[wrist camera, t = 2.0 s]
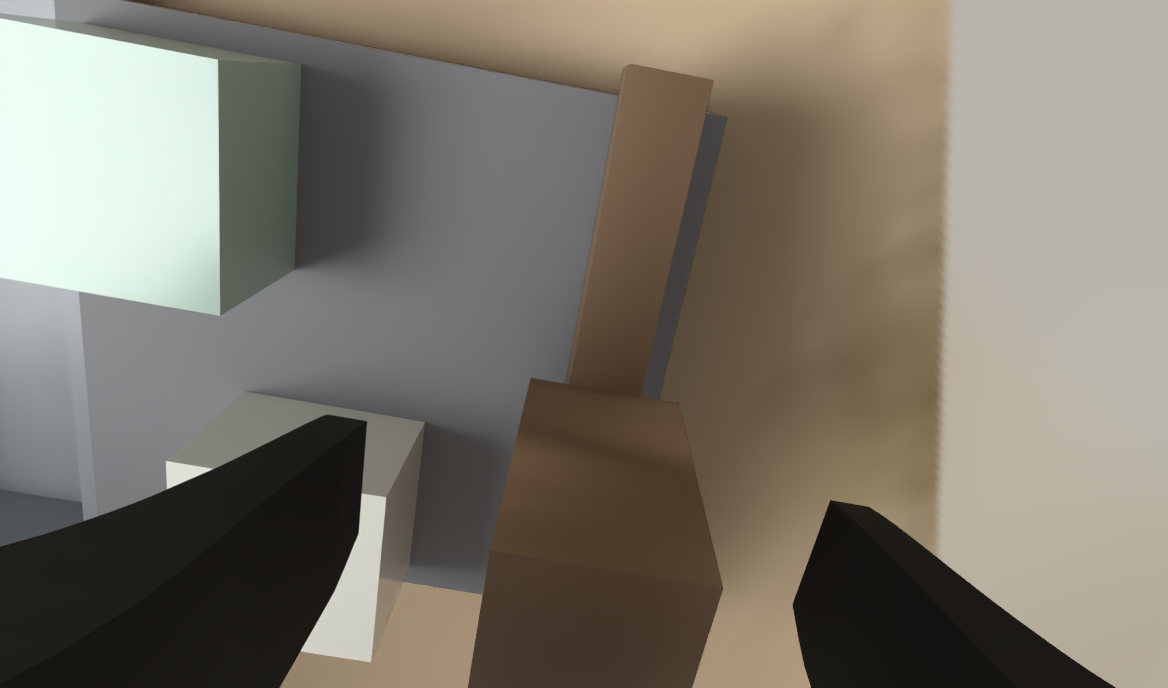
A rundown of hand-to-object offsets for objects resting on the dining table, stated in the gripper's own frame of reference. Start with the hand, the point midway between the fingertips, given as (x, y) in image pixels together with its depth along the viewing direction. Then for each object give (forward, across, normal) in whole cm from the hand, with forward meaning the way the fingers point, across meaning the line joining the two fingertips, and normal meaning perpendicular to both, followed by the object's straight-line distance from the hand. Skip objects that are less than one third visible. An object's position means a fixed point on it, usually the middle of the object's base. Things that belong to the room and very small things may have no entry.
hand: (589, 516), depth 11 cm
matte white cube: (+5, +6, +4) cm, 8 cm away
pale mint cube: (+5, +8, -4) cm, 10 cm away
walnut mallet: (+4, 0, 0) cm, 5 cm away
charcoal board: (+7, +5, 0) cm, 8 cm away
